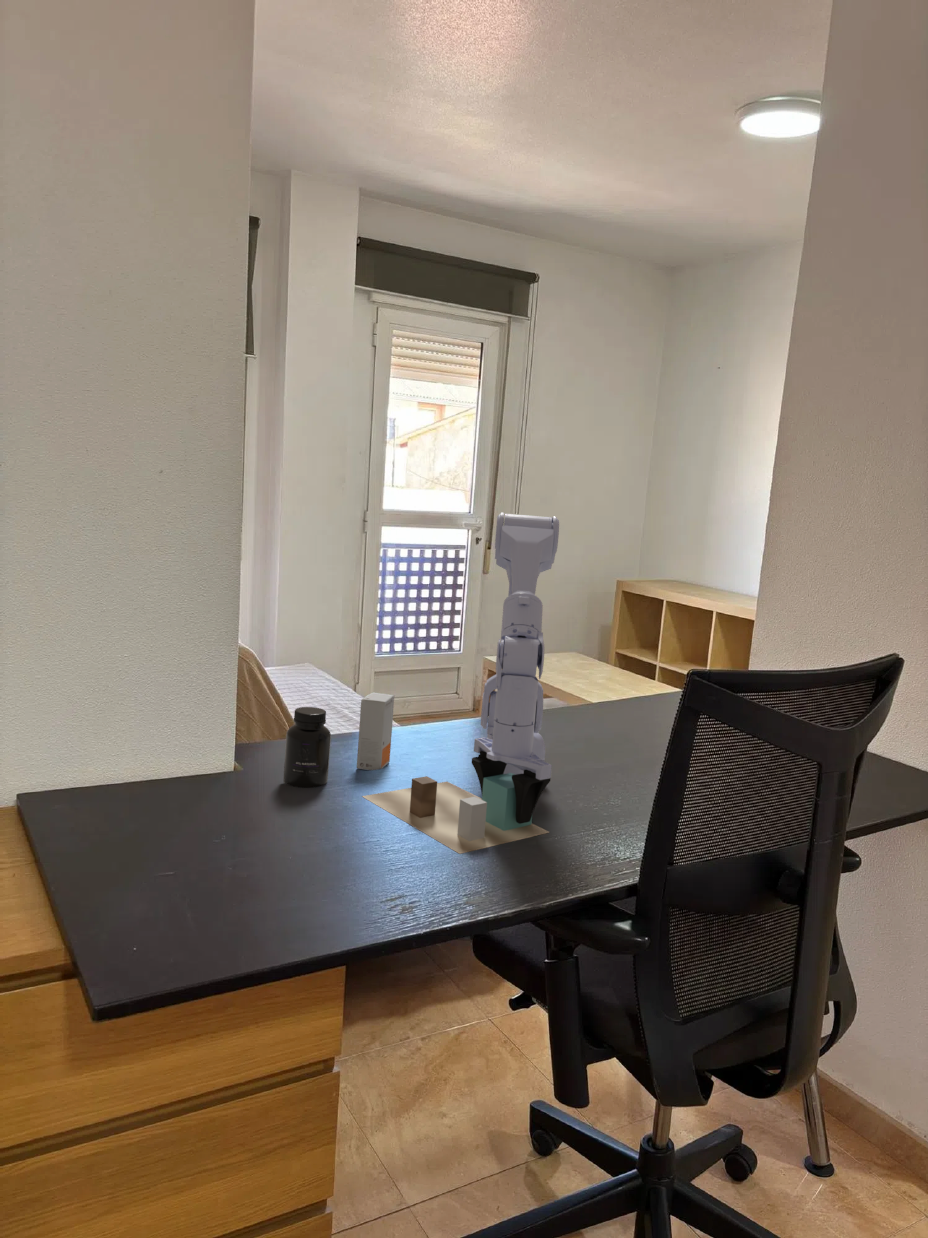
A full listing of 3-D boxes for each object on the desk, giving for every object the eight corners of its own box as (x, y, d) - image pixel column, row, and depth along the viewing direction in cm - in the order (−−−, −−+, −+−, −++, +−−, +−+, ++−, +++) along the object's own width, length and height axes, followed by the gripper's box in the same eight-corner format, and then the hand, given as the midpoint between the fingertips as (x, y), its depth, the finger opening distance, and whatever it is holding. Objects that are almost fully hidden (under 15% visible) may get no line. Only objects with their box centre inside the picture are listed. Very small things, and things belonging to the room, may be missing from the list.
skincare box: (380, 772, 150) (385, 702, 149) (355, 769, 151) (360, 699, 149) (390, 762, 156) (395, 694, 155) (367, 759, 157) (371, 691, 155)
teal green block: (507, 812, 134) (511, 772, 133) (531, 824, 130) (535, 783, 129) (480, 818, 130) (483, 777, 130) (503, 830, 126) (507, 788, 126)
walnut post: (424, 809, 132) (426, 776, 132) (434, 815, 130) (437, 781, 130) (409, 812, 131) (412, 778, 130) (420, 818, 129) (422, 784, 128)
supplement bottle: (297, 795, 137) (301, 718, 135) (275, 782, 142) (278, 707, 140) (336, 788, 141) (340, 713, 139) (312, 775, 146) (316, 703, 144)
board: (446, 786, 146) (447, 781, 146) (549, 837, 127) (549, 832, 127) (361, 801, 136) (361, 796, 136) (459, 859, 117) (459, 853, 117)
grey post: (472, 831, 125) (475, 796, 125) (484, 837, 123) (487, 802, 123) (457, 834, 124) (460, 799, 123) (469, 841, 122) (472, 805, 121)
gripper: (460, 711, 131) (453, 801, 133) (527, 737, 120) (519, 835, 122) (497, 707, 135) (490, 794, 137) (566, 731, 124) (557, 826, 126)
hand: (506, 813), depth 130 cm, fingers open, 7 cm apart
